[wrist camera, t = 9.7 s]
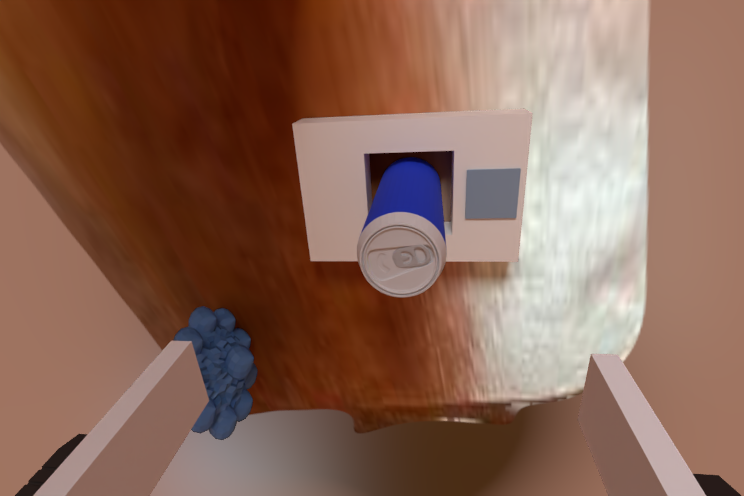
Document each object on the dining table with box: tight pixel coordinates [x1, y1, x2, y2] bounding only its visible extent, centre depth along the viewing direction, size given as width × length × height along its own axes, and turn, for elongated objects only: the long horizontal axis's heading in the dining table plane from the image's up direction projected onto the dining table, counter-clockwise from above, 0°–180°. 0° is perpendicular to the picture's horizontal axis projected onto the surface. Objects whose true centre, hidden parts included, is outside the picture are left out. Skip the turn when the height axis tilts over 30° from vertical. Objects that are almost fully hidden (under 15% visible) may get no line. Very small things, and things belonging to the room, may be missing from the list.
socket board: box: [292, 108, 533, 262], centre depth 35 cm, size 12×18×3 cm, turn 93°
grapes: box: [173, 306, 257, 440], centre depth 40 cm, size 12×7×12 cm, turn 24°
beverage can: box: [357, 157, 447, 297], centre depth 30 cm, size 5×5×15 cm
